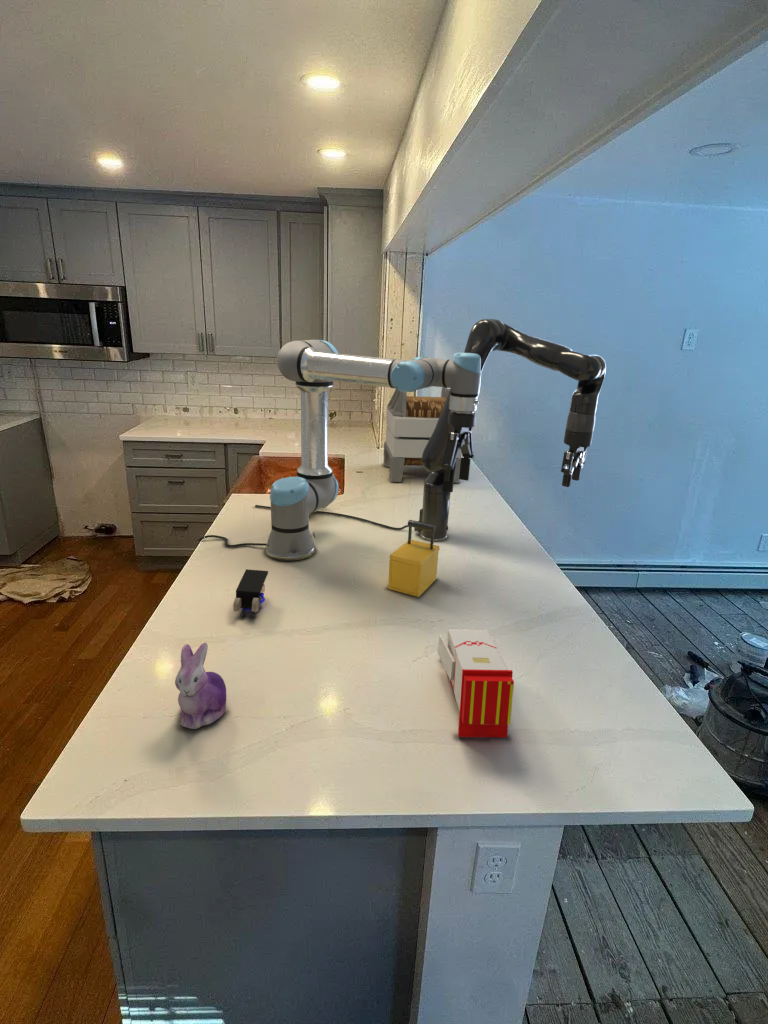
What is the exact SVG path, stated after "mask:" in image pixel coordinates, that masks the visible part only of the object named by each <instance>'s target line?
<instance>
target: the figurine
mask: <svg viewBox="0 0 768 1024" xmlns="http://www.w3.org/2000/svg"><path fill="white" fill-rule="evenodd" d="M208 648H209V645H208V643H207V642H203V643H201V644H200V646H199V647H198V648H197V650H196V651H195V652H193V649H192V647H191V646H190V644H188V643H186V644H184V645H183V646H182V648H181V651H180V668H179V670H178V672H177V675H176V676H175V679H174V685H175V687H176V689H177V690H178V691H179V694H178V696H177V702H178V706H179V708H180V711H181V718H180V726H182V727H183V728H188V729H191V730H197V729H199V728H201V727H203V726H208V725H211V724H213V723H215V722H216V721H217V720H218V719H220V718H221V717H222V716H223V715H224V714H225V712H226V707H227V687H226V682H225V681H224V678H223V677H222V676H221V675H220V674H219V673H217V672H215V671H206V670H205V667H204V664H205V661H206V657H207V653H208Z"/></svg>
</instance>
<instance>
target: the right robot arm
mask: <svg viewBox="0 0 768 1024" xmlns="http://www.w3.org/2000/svg"><path fill="white" fill-rule="evenodd" d="M495 351H499V352H505V353H506V352H507V353H511V354H514V355H517V356H520V357H522V358H524V359H526V360H528V361H529V362H531V363H534V364H535V365H537V366H540V367H542V368H545V369H548V370H551V371H554V372H557V373H561V374H562V375H564V376H566V377H568V378H570V379H573V380H575V381H578V382H577V386H576V389H575V390H574V391H573V393H572V395H571V397H570V398H571V399H570V404H569V410H568V415H567V418H566V425H565V431H564V438H563V443H564V445H567V446H569V447H568V450H567V451H566V450H564V452H563V458H562V463H561V469H560V472H561V473H562V474H563V475H562V481H561V485H562V487H566V488H569V487H571V484H572V480H573V481H576V482H577V481H580V479H581V474H582V469H583V467H584V465H585V464H586V459H587V454H588V448H589V447H591V446H592V442H593V437H594V431H595V425H596V413H597V407H598V401H599V395H600V393H601V390H602V387H603V384H604V381H605V377H606V373H607V364H606V360H605V359H604V358H603V357H602V356H601V355H598V354H584V353H581V352H579V351H578V352H577V351H574V350H573V349H571V348H570V347H568V346H566V345H562V344H559V343H557V342H553V341H549V340H546V339H542V338H540V337H536V336H532V335H530V334H527V333H524V332H521V331H520V330H517V329H516V328H514V327H512V326H510V325H508V324H506V323H504V322H502V321H501V320H499V319H495V318H482V319H479V320H478V321H477V322H475V323H474V324H473V325H472V327H471V329H470V332H469V334H468V338H467V341H466V345H465V348H464V351H463V353H474V354H478V355H480V357H481V373H480V381H479V389H478V399H477V401H479V396H480V393H481V379H482V372H483V369H484V367H485V364H486V362H487V360H488V358H489V356H490V354H491V352H495ZM449 389H450V391H449V393H448V396H447V398H446V401H445V404H444V407H443V409H442V412H441V414H440V417H439V419H438V422H437V425H436V427H435V429H434V432H433V434H432V436H431V437H430V439H429V441H428V443H427V445H426V447H425V449H424V451H423V454H422V464H423V466H422V467H423V468H424V470H425V471H427V472H428V473H429V474H428V476H427V477H426V478H425V480H424V482H423V493H422V496H423V497H422V506H421V508H420V509H419V516H418V520H417V521H418V522H423V523H427V524H432V525H436V530H435V531H434V542H440V541H444V540H446V539H447V538H448V531H449V517H450V516H449V514H450V504H451V494H452V492H447V491H443V480H444V468H441V465H442V461H443V457H444V453H445V449H446V445H447V441H448V433H449V432H453V429H454V427H453V426H450V425H449V424H448V416H449V412H450V411H451V410H450V409H449V402H450V392H451V388H449ZM455 468H456V462H455V465H454V468H453V469H455ZM454 476H455V471H454ZM255 508H263V509H269V510H271V506H269V505H262V504H261V505H259V504H255ZM315 513H316V514H327V515H333V516H339V517H346V518H349V519H350V518H351V519H355V520H359V521H363V522H366V523H371V524H373V525H376V526H380V527H384V528H387V529H390V530H395V531H402V530H404V529H406V528H409V526H408V524H406V525H403V526H401V527H395V526H389V525H387V524H383V523H379V522H375V521H372V520H369V519H366V518H362V517H359V516H358V517H357V516H354V515H349V514H344V513H338V512H331V511H323V510H317V511H315ZM413 531H414V532H417V535H418V536H420V538H421V539H424V540H426V541H431V531H428V530H424V529H419V528H415V527H413Z"/></svg>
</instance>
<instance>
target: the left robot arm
mask: <svg viewBox="0 0 768 1024" xmlns="http://www.w3.org/2000/svg"><path fill="white" fill-rule="evenodd" d="M276 364H277V368H278V370H279V372H280V374H281V375H282V376H283V377H284V378H285V379H287V380H288V381H291V382H295V386H296V387H297V388H298V390H299V391H300V446H301V447H300V449H301V450H300V452H301V454H300V455H301V456H300V457H301V458H300V461H301V463H300V465H299V466H298V467H297V468H296V476H288V477H281V478H279V479H277V480H275V481H274V482H273V483H272V484H271V486H270V494H269V500H270V507H271V509H270V524H271V525H270V526H271V527H270V528H271V529H270V533H269V536H268V538H267V539H268V540H267V542H265V543H264V542H263V543H262V542H260V543H259V542H244V543H235V544H229V538H227V537H225V536H223V535H217V534H216V535H215V534H207V535H203V536H201V537H200V538H199V539H197V542H201V541H202V540H204V539H208V538H215V539H221V540H224V545H225V546H226V547H229V548H237V547H242V546H243V547H245V546H258V547H259V546H264V547H265V553H266V555H267V556H268V557H269V558H271V559H274V560H276V561H282V562H296V561H301V560H304V559H308V558H310V557H312V556H313V555H314V554H315V543H314V540H313V538H314V539H316V535H315V533H314V531H312V534H311V531H310V527H309V526H310V524H309V523H310V521H309V519H310V516H309V515H311V514H314V512H315V511H320V510H321V509H325V508H326V507H328V506H329V505H330V504H333V502H334V501H335V500H336V499H337V497H338V495H339V490H340V488H339V487H340V486H339V485H340V484H339V482H338V479H337V478H336V476H335V474H333V471H334V470H333V468H332V467H331V466H330V465H329V391H330V390H331V389H332V388H333V387H334V382H336V383H337V382H338V383H345V384H354V385H361V386H372V387H380V388H387V389H395V390H396V389H397V390H399V391H401V392H406V393H413V392H416V391H419V390H422V389H426V388H431V387H435V388H442V387H445V388H447V389H450V388H451V392H450V402H449V409H450V410H451V411H450V412H449V416H448V424H449V425H450V426H453V427H454V429H453V432H449V433H448V441H447V445H446V449H445V453H444V457H443V461H442V465H441V468H444V480H443V491H447V492H451V493H453V492H454V483H453V482H454V471H455V469H453V468H454V465H455V462H456V459H457V456H458V452H459V449H461V452H462V453H461V464H460V474H459V479H460V481H461V480H462V481H467V482H468V481H469V479H470V470H471V469H470V468H471V459H474V457H475V454H474V453H475V452H474V451H475V450H474V436H473V431H474V429H473V428H474V427H475V426H476V422H477V413H476V411H477V409H478V405H479V404H480V401H479V397H478V389H479V381H480V373H481V357H480V355H478V354H474V353H464V352H455V353H453V356H452V358H451V359H445V358H435V357H428V356H416V357H414V358H412V359H411V360H409V359H397V358H389V357H377V356H368V355H356V354H347V353H346V354H345V353H339V352H338V349H337V348H336V347H335V346H334V345H333V344H332V343H331V342H329V341H327V340H324V339H304V340H292V341H289V342H287V343H285V344H284V345H283V346H282V347H281V348H280V350H279V351H278V354H277V358H276ZM481 374H482V373H481ZM477 399H478V400H477ZM312 536H313V538H312ZM204 537H205V538H204Z"/></svg>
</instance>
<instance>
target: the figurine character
mask: <svg viewBox="0 0 768 1024" xmlns="http://www.w3.org/2000/svg"><path fill="white" fill-rule="evenodd" d="M268 574H269V570H261V569H247V568H245V570H244V572H243V575H242V577H241V579H240V581H239V583H238V585H237V587H236V589H235V598H234V600H233V607H232V609H233V612H234V613H235V612H236V613H239V612H240V611H241V612H240V616H241V617H244V615H245V612H246V611H248V612H249V611H251V612H252V613H251V617H255V615H256V613H258V612H259V610H260V609H261V605H262V604H263V603H264V602H265V601H266V598H265V591H266V586H265V582H266V579H267V576H268Z"/></svg>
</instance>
